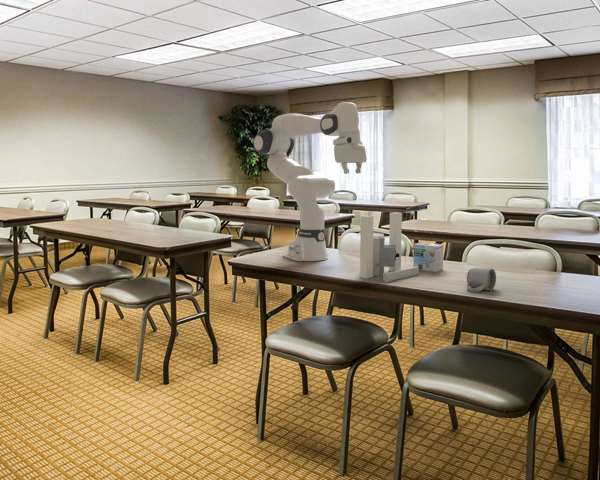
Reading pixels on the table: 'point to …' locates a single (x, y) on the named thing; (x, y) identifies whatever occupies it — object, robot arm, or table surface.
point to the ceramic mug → (481, 279)
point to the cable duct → (400, 273)
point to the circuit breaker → (382, 255)
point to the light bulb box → (428, 256)
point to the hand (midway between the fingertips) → (352, 173)
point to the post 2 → (396, 237)
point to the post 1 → (366, 246)
